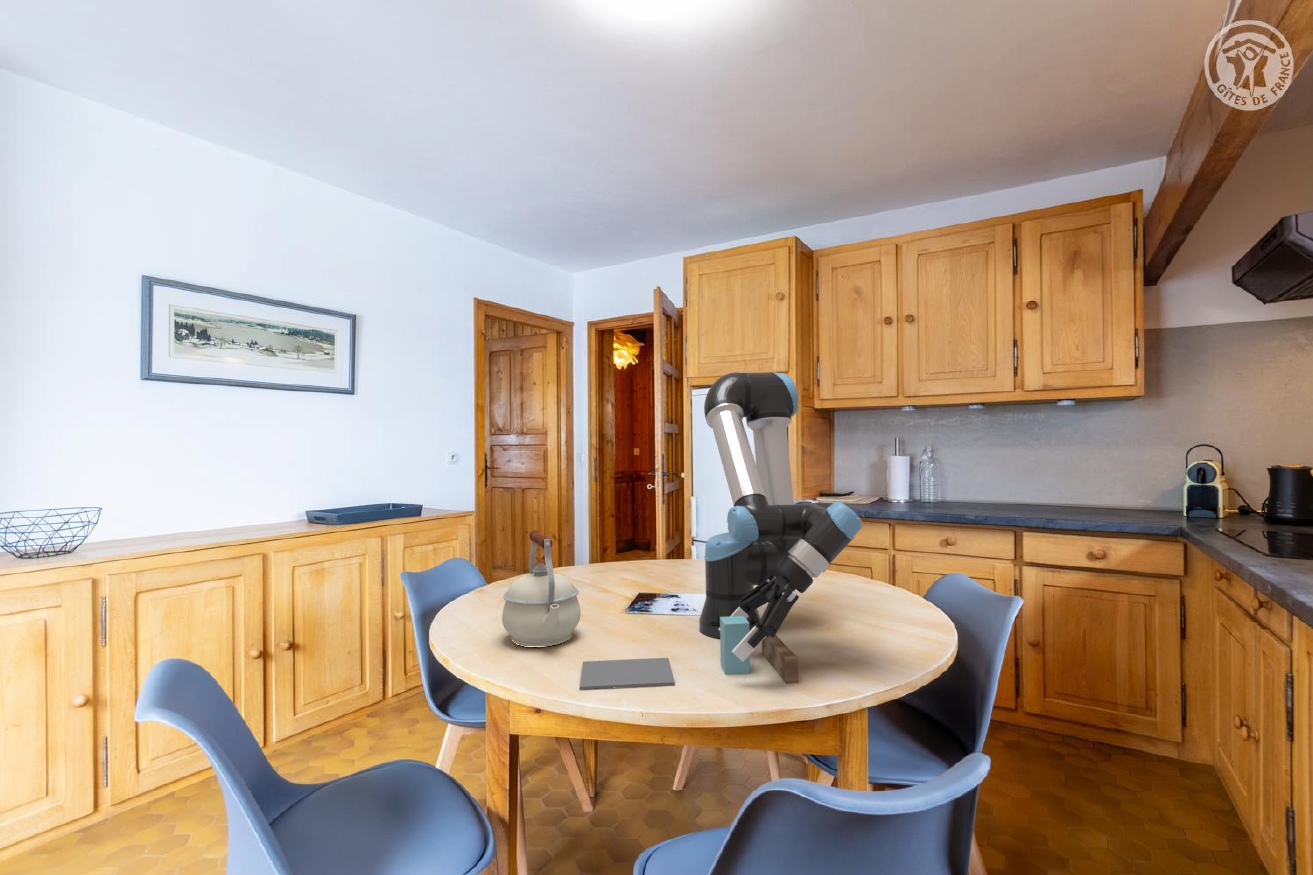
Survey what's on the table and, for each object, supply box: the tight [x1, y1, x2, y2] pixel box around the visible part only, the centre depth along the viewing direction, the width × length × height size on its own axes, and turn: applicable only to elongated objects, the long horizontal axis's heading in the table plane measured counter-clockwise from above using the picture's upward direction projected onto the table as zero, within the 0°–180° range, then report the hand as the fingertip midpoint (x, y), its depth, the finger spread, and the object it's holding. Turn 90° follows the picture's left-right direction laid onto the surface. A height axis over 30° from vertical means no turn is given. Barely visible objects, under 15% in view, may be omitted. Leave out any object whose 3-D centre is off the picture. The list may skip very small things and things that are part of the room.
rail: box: [761, 634, 799, 684], centre depth 122 cm, size 16×2×5 cm, turn 6°
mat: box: [579, 657, 676, 690], centre depth 119 cm, size 13×18×1 cm
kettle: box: [501, 530, 581, 647], centre depth 141 cm, size 25×18×25 cm
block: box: [719, 616, 751, 676], centre depth 121 cm, size 5×5×10 cm
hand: (729, 644), depth 120 cm, fingers open, 13 cm apart
